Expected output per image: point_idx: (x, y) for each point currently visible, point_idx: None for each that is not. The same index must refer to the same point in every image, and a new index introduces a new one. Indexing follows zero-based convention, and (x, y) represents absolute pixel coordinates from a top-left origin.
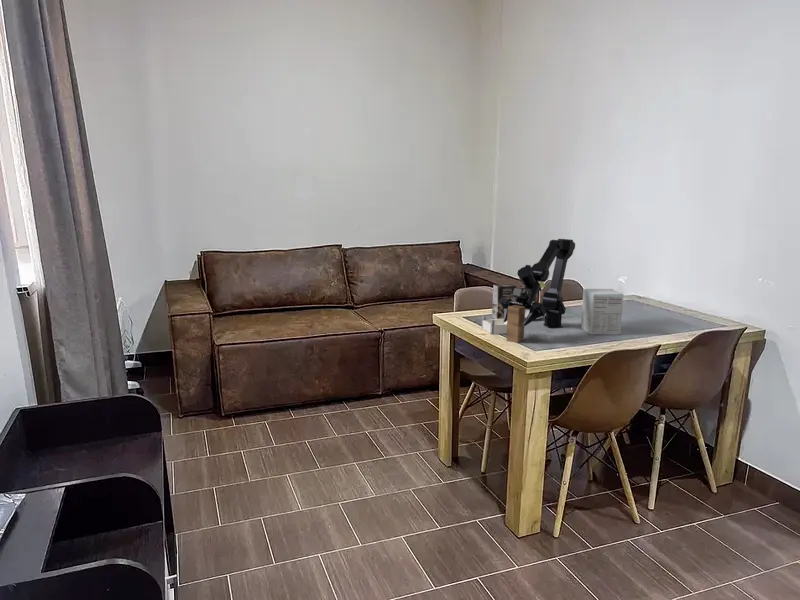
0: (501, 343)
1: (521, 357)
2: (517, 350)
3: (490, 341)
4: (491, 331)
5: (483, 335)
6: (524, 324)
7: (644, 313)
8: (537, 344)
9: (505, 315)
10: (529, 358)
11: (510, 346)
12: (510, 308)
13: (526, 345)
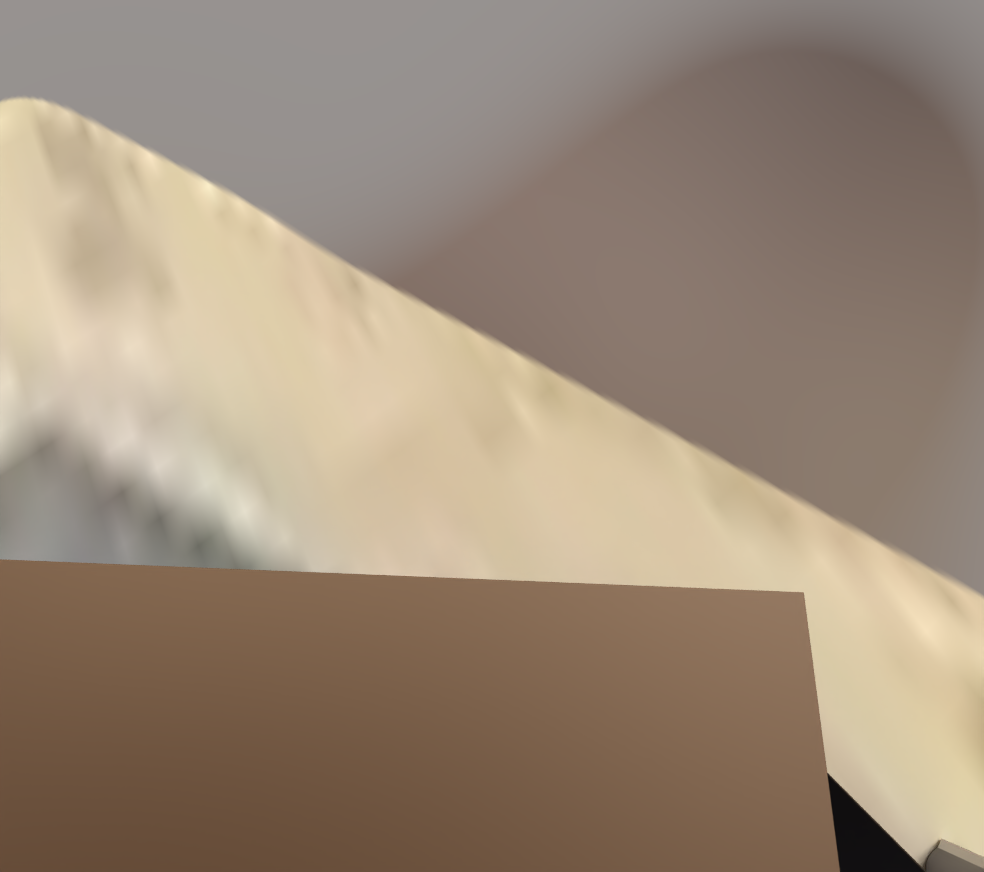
0: (525, 464)
1: (110, 144)
2: (231, 320)
3: (683, 458)
4: (979, 855)
5: (965, 683)
6: None
7: None
8: None
9: (839, 845)
10: (28, 159)
11: (369, 414)
12: (569, 593)
13: None
